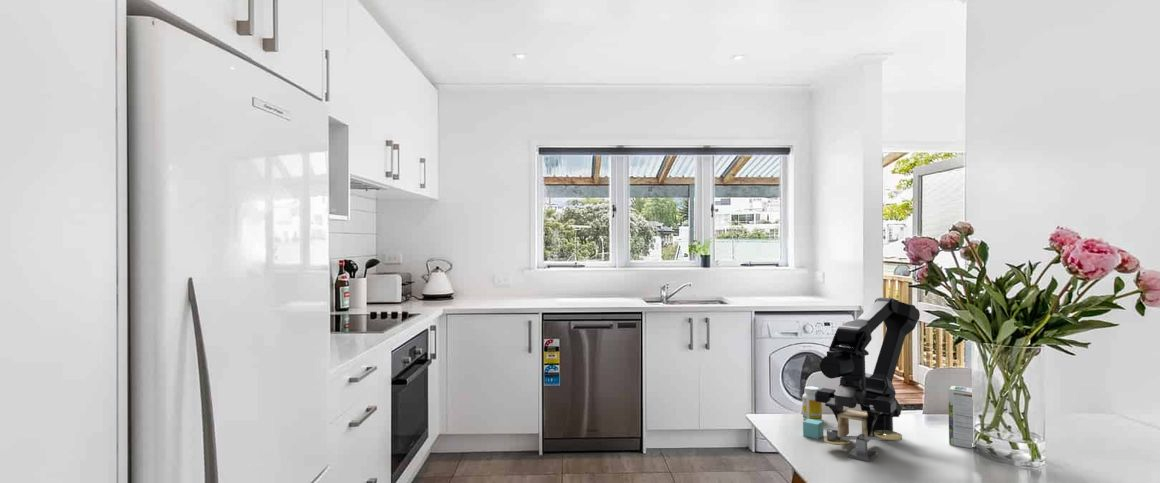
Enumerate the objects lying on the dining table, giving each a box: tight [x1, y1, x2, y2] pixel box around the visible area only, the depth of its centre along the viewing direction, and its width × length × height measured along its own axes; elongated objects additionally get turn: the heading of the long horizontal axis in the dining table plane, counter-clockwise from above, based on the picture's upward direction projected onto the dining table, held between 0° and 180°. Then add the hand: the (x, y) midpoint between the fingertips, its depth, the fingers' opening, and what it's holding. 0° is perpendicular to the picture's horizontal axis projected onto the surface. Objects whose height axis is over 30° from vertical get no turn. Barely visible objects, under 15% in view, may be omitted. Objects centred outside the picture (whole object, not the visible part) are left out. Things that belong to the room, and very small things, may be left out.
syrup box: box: [947, 385, 973, 449], centre depth 145 cm, size 6×6×14 cm
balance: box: [823, 428, 903, 463], centre depth 138 cm, size 6×18×7 cm, turn 46°
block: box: [802, 419, 824, 440], centre depth 154 cm, size 4×4×4 cm
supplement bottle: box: [801, 385, 823, 421], centre depth 169 cm, size 5×5×10 cm
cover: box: [837, 408, 873, 443], centre depth 147 cm, size 6×6×6 cm
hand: (855, 432), depth 147 cm, fingers closed on cover, 6 cm apart
